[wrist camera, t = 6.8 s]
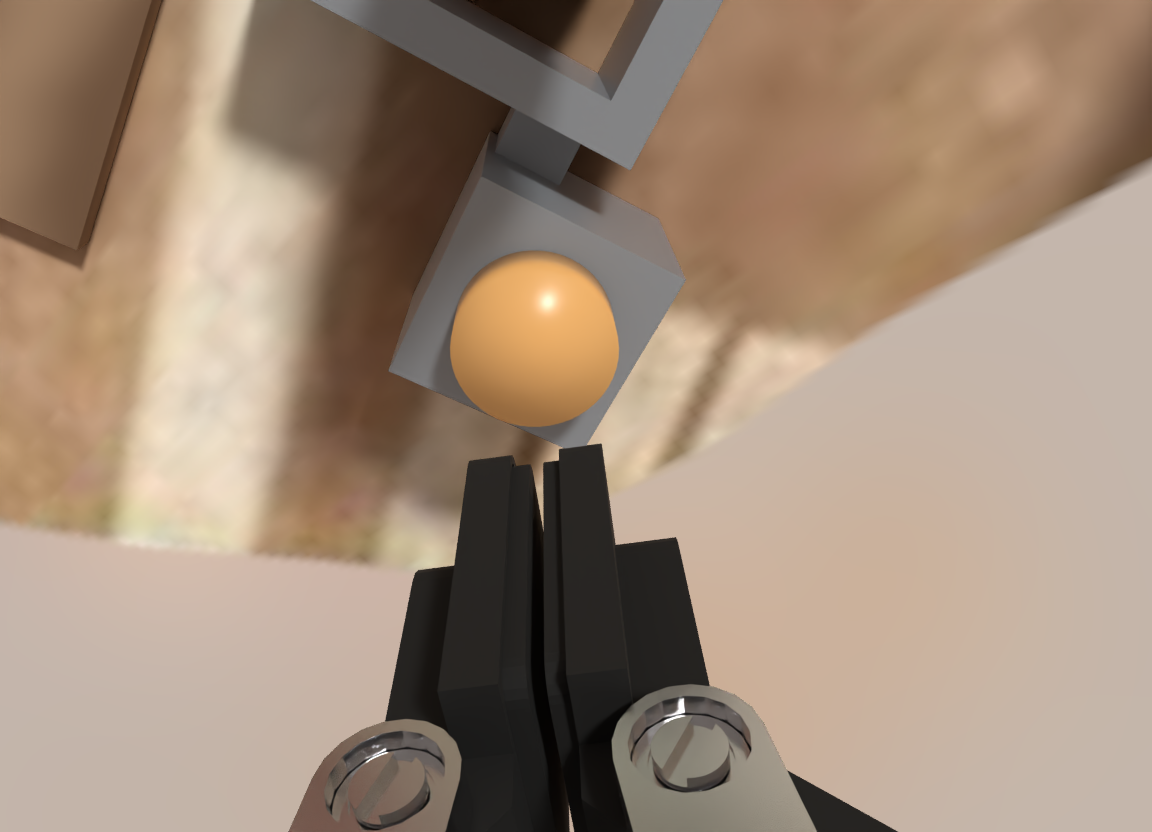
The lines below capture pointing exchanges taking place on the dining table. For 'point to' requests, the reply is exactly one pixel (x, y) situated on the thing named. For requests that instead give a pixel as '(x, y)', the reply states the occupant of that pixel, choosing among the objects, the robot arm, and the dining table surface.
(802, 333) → the dining table surface
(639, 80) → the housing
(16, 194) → the pad
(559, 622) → the robot arm
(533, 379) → the orange egg-shaped ball
